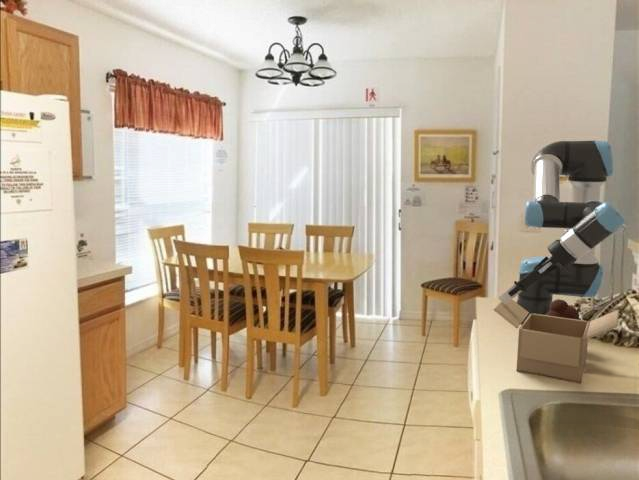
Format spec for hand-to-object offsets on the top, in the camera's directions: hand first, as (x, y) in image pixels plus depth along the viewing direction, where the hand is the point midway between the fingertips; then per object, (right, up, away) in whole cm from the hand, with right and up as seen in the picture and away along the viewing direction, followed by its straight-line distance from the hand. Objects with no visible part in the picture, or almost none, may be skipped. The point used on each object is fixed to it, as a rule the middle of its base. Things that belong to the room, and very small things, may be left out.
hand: (501, 300), depth 157 cm
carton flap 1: (+3, -3, -1) cm, 4 cm away
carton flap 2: (+23, -5, -13) cm, 26 cm away
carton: (+13, -18, -5) cm, 22 cm away
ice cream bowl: (+22, -16, +11) cm, 30 cm away
